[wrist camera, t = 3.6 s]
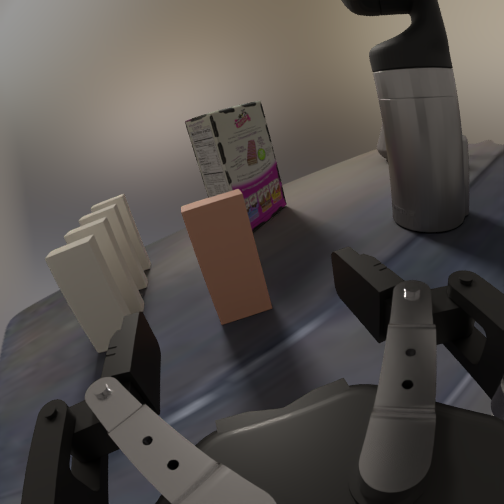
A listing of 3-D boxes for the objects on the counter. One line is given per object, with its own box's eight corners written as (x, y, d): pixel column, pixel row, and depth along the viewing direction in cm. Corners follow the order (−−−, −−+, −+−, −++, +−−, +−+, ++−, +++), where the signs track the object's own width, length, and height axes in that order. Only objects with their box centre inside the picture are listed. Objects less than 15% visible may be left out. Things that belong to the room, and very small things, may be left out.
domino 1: (150, 263, 41) (124, 193, 36) (150, 268, 39) (121, 196, 35) (122, 272, 40) (93, 205, 36) (120, 278, 39) (90, 208, 34)
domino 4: (140, 331, 27) (93, 234, 23) (139, 342, 26) (88, 241, 21) (100, 342, 27) (51, 251, 22) (98, 353, 25) (44, 258, 21)
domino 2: (148, 280, 36) (116, 203, 32) (146, 287, 35) (113, 207, 30) (116, 291, 36) (82, 216, 31) (113, 297, 34) (78, 220, 30)
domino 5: (267, 298, 27) (238, 188, 23) (272, 308, 26) (242, 193, 22) (219, 314, 27) (181, 206, 23) (221, 325, 25) (181, 212, 21)
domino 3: (144, 303, 32) (106, 216, 27) (143, 311, 30) (103, 221, 26) (109, 313, 31) (69, 231, 27) (106, 322, 30) (63, 236, 25)
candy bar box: (260, 205, 51) (235, 106, 43) (287, 205, 48) (263, 99, 40) (217, 237, 43) (182, 119, 36) (246, 239, 40) (211, 110, 33)
